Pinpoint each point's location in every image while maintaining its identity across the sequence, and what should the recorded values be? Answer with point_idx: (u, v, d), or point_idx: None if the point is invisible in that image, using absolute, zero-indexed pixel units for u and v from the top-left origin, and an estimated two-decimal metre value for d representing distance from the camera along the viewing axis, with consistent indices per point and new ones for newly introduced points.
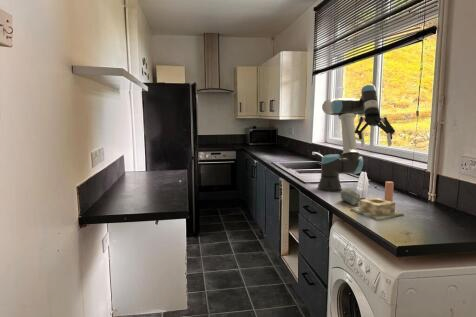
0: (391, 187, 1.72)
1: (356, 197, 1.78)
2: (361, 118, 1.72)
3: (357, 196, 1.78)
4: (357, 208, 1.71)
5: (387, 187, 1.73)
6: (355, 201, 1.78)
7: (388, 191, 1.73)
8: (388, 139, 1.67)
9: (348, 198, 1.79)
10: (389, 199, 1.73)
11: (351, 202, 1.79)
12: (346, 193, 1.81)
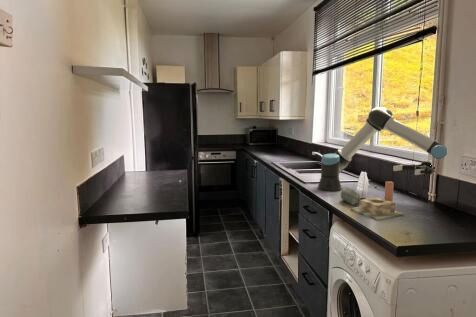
0: (391, 187, 1.72)
1: (356, 197, 1.78)
2: None
3: (357, 196, 1.78)
4: (357, 208, 1.71)
5: (387, 187, 1.73)
6: (355, 201, 1.78)
7: (388, 191, 1.73)
8: (398, 168, 1.84)
9: (348, 198, 1.79)
10: (389, 199, 1.73)
11: (351, 202, 1.79)
12: (346, 193, 1.81)
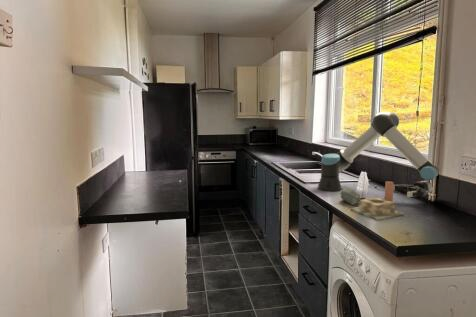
0: (391, 187, 1.72)
1: (356, 197, 1.78)
2: None
3: (357, 196, 1.78)
4: (357, 208, 1.71)
5: (387, 187, 1.73)
6: (355, 201, 1.78)
7: (388, 191, 1.73)
8: None
9: (348, 198, 1.79)
10: (389, 199, 1.73)
11: (351, 202, 1.79)
12: (346, 193, 1.81)
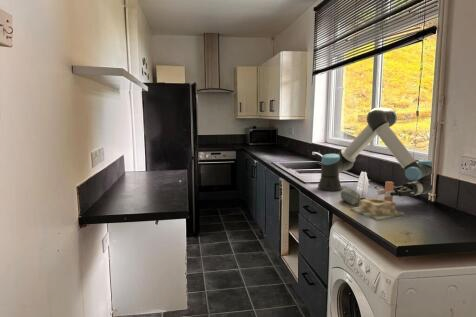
0: (391, 187, 1.72)
1: (356, 197, 1.78)
2: None
3: (357, 196, 1.78)
4: (357, 208, 1.71)
5: (387, 187, 1.73)
6: (355, 201, 1.78)
7: None
8: (383, 192, 1.75)
9: (348, 198, 1.79)
10: (389, 199, 1.73)
11: (351, 202, 1.79)
12: (346, 193, 1.81)
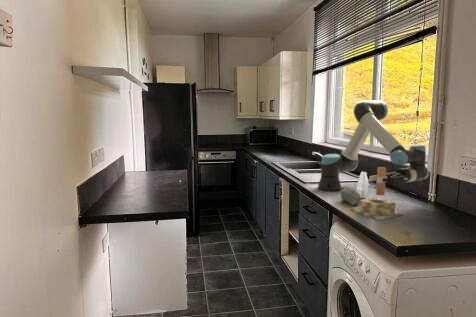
0: (383, 173, 1.63)
1: (356, 197, 1.78)
2: None
3: (357, 196, 1.78)
4: (357, 208, 1.71)
5: (379, 173, 1.63)
6: (355, 201, 1.78)
7: None
8: (375, 178, 1.66)
9: (348, 198, 1.79)
10: (381, 185, 1.64)
11: (351, 202, 1.79)
12: (346, 193, 1.81)
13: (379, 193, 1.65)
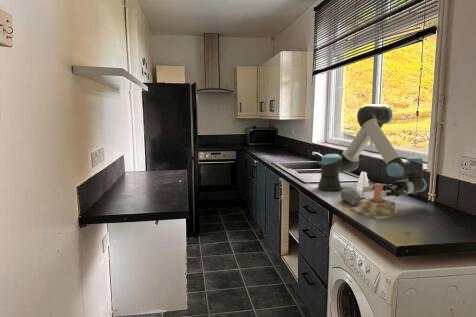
0: (380, 189, 1.63)
1: (356, 197, 1.78)
2: None
3: (357, 196, 1.78)
4: (357, 208, 1.71)
5: (376, 189, 1.64)
6: (355, 201, 1.78)
7: (377, 194, 1.63)
8: (368, 189, 1.70)
9: (348, 198, 1.79)
10: (378, 202, 1.64)
11: (351, 202, 1.79)
12: (346, 193, 1.81)
13: None
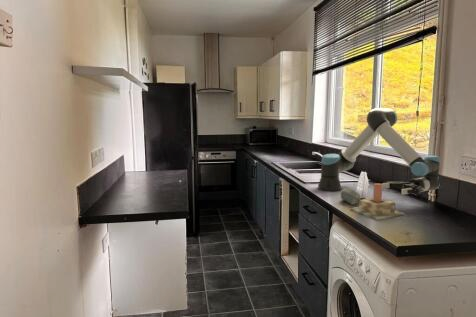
0: (380, 189, 1.63)
1: (356, 197, 1.78)
2: None
3: (357, 196, 1.78)
4: (357, 208, 1.71)
5: (375, 189, 1.64)
6: (355, 201, 1.78)
7: (376, 194, 1.64)
8: (385, 186, 1.76)
9: (348, 198, 1.79)
10: (377, 202, 1.64)
11: (351, 202, 1.79)
12: (346, 193, 1.81)
13: None
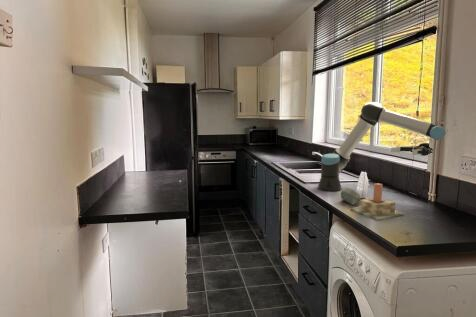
0: (380, 189, 1.63)
1: (356, 197, 1.78)
2: (430, 152, 1.79)
3: (357, 196, 1.78)
4: (357, 208, 1.71)
5: (375, 189, 1.64)
6: (355, 201, 1.78)
7: (377, 193, 1.64)
8: (396, 149, 1.86)
9: (348, 198, 1.79)
10: (378, 202, 1.64)
11: (351, 202, 1.79)
12: (346, 193, 1.81)
13: None
